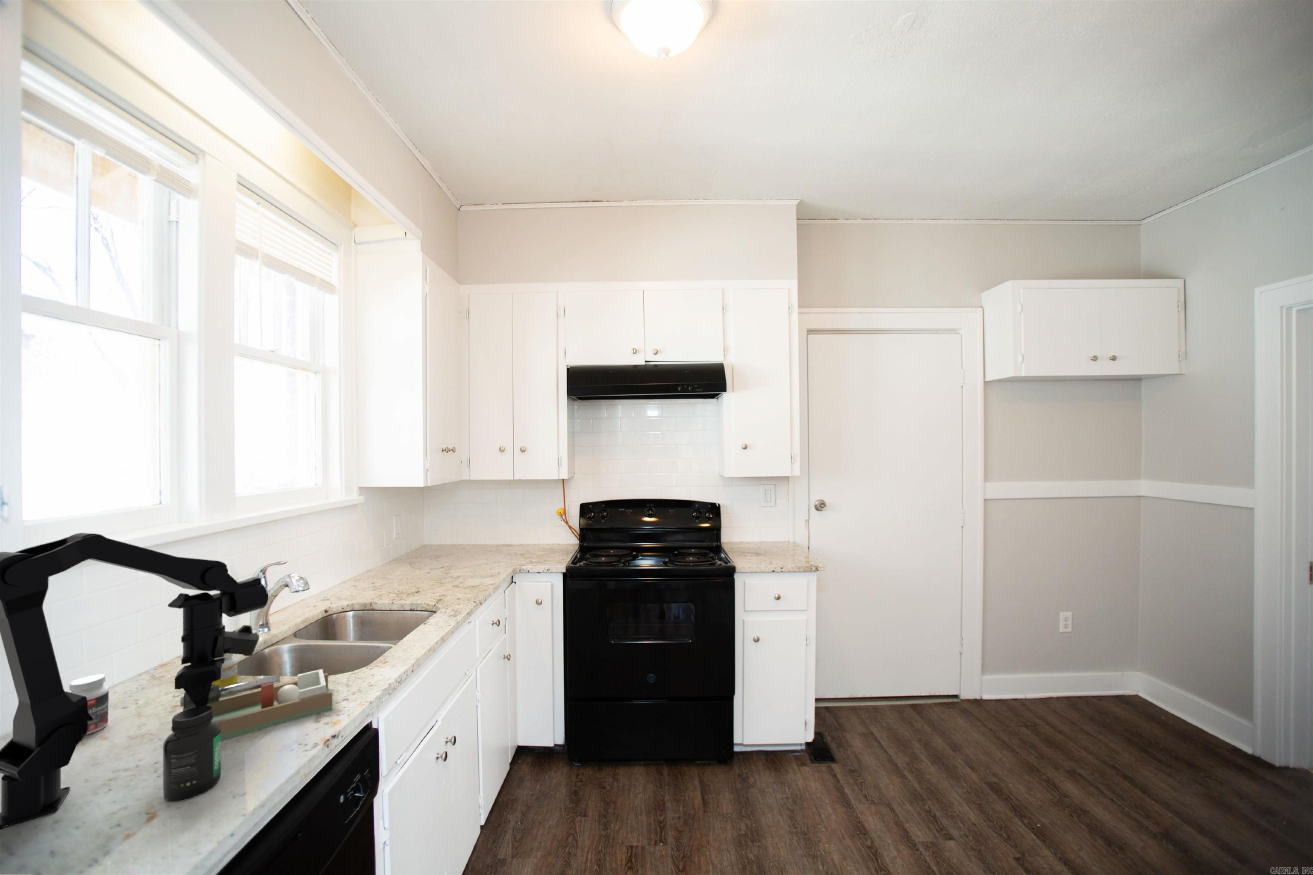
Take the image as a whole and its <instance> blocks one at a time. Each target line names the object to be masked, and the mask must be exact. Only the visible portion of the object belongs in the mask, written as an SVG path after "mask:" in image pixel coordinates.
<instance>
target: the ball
mask: <svg viewBox="0 0 1313 875" xmlns="http://www.w3.org/2000/svg"><path fill="white" fill-rule="evenodd" d="M298 697H299V688H298V687H297V686H295V685H286V686H284V687H282V688H281V689H280V690H279V691H278V693H277V695H276V701H277V703H278V704H283V703H286V702H290V701H294V700H297V699H298Z"/></svg>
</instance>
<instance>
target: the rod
mask: <svg viewBox="0 0 1313 875" xmlns="http://www.w3.org/2000/svg"><path fill="white" fill-rule="evenodd" d="M280 678H281V676H280V674H279V673H278V674H275V675H270V676H266V677H262V678H257V679H253V680H248V681H244V682H240V683H239V682H238V684H235V685H230V686H226V687H222V688H220V684H218V685H214V686H211V690H210V694H209V698H208V703H207V705H208V704H212V703H216V702H219V700H220V698H221V697H225V696H228V697H229V695H231V696H233V695H237V694H242V693H246V692H250V691H254V690H258V689H261V709H263V708H267V707H271V706H274V686H275V685H279V684H280V683H281V682H280V681H281V679H280ZM179 704H180V705H179V706H180V708H182V709H183V708H184V710H187V709H190V708H194V707H196V706H195V705H194V703H193V702H192V700H191V699H190V698H189V696H188V695H187V693H186V692H185V691H184V694H183V696H181V697H180V701H179Z"/></svg>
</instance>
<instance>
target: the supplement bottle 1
mask: <svg viewBox="0 0 1313 875" xmlns="http://www.w3.org/2000/svg"><path fill="white" fill-rule="evenodd" d="M212 720H213V708H212V706H198V707H194V708H190V709H187V710H184V711H183V710H182V711H180V712H179V713H177V714H175V715H173V717H172V719H171V728H170V729H171V733H170V734H169V735H168V736H167V737H166V738H165V740H164V742H163V745H162V765H163V766H162V792H163V793H162V794H163V798H164V799H165V800H166V801H168V802H172V801H173V802H174V801H176V802H182V800H183V801H186V799H187V800H189V799H193V798H195V797H198V796H201V795H202V794H205V793H207V792H208V791H210V790H211V789H213V788H214V787H215V786H216V785H217V784H218V783H219V781H220V780H221V776H222V740H221V727H220V725H219V724H218V723H216V722H214V721H212ZM209 789H210V790H209ZM173 802H172V803H173Z"/></svg>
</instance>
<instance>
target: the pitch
mask: <svg viewBox="0 0 1313 875" xmlns="http://www.w3.org/2000/svg"><path fill="white" fill-rule="evenodd" d="M323 674H324V678H325V683H326V692H325V693H321V694H317V695H313V696H310V697H306V698H302V699H299V697H298V699H297V700H294V701H290V702H286V703H283V704H278V703H277V701H276V695H277V693H278V691H279V690H280V689H281V688H282V687H284V686H286V685H295V686H297V680H292V681H291V680H290V681H289V682H284V683H283V682H282V683H281V684H280V683H279V684H275V685H274V706H271V707H267V708H263V709H261V688H258V689H254V690H250V691H246V692H242V693H237V694H233V695H231V696H228V697H225V698H221V699H220V700H219V702H216V703H212V704H208V705H207V706H212V708H213V720H212V721H214V722H216V723H218V724H219V725H220V727H221V741H224V740H227V739H232V738H235V737H238V736H242V735H246V734H248V733H252V732H253V733H254V732H256V731H261V730H264V729H268V728H271V727H274V726H278V725H282V724H285V723H288V722H293V721H296V720H300V719H304V718H307V717H310V716H314V715H317V714H321V713H325V712H329V711H332V710H333V690H329V675H328V672H326V673H323ZM182 711H184V708H183V707H182Z"/></svg>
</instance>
